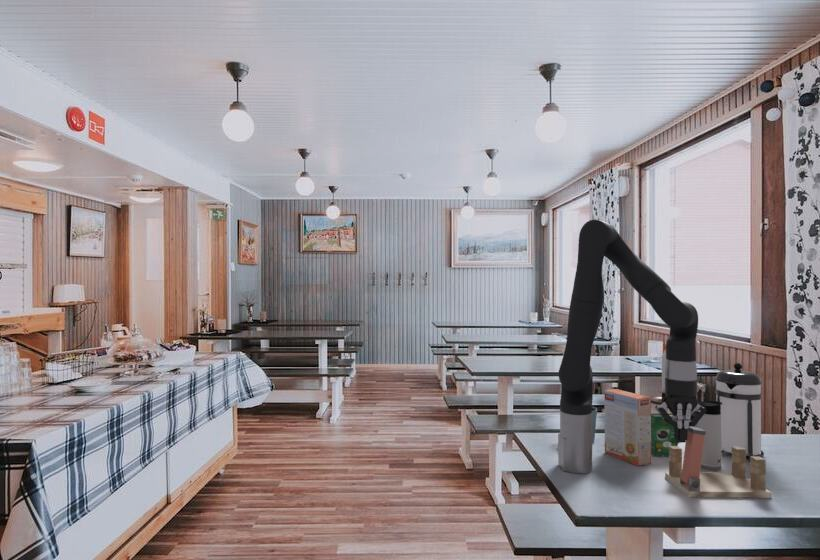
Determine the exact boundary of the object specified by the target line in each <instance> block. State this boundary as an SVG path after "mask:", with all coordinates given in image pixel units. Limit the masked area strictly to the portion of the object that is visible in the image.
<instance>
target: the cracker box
mask: <svg viewBox="0 0 820 560" xmlns="http://www.w3.org/2000/svg"><path fill="white" fill-rule="evenodd" d="M651 414H652V403H651V396H646V395H643V394H642V395H641V394H638V393H634V392H629V391H627V390H622V389H618V388H613V389H605V390H604V453H606V454H608V455H611V456H612V457H615V458H618V459H621V460H623V461H625V462H627V463H630V464H633V465H634V466H637V467H640V466H646V465H651V464H652V455H651Z"/></svg>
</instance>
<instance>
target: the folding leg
mask: <svg viewBox="0 0 820 560" xmlns="http://www.w3.org/2000/svg"><path fill="white" fill-rule="evenodd" d="M705 434H706V431H704V430H702V429H700V428H697V426H696V427H695V426H694V427H693V426H691V427H689V428H688V439H687V440H686V442H685V444H684V445H685V446H684V453H683V459H682V476H681V480H682V481H684V482H685V483H686V484H689V478H699V477H700V473H701V469H702V468H701V461H702V453H703V445H704V437H705Z"/></svg>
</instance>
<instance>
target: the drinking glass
mask: <svg viewBox="0 0 820 560" xmlns="http://www.w3.org/2000/svg"><path fill="white" fill-rule="evenodd" d="M597 415H598V408H597V407H595V406H593V405H592V443H593V444H595V441H596V440H595V439H596V438H595V437H596V426H597V422H596V421H597Z"/></svg>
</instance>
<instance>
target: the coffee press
mask: <svg viewBox="0 0 820 560" xmlns="http://www.w3.org/2000/svg"><path fill="white" fill-rule="evenodd" d="M733 367H734V369H723V370H721V371H719V372H718V373H716V376H714V380H715V382H716V383H715V385H716V386H715V394H716V401H720V402H721V403H722V405H721V454H723V453H725V452H726V453H728V454H731V455H732V447H742V448H744V449H746V461H748V463H750V456H758V457H763V456H764V454H765V452H764V451H763V450H762V405H761V404H762V403H761V402H762V397H763V396H762V391H761V389H762V388H761V387H762V384H763V381H762V379H761V378H760V376H759V375H758V374H757V373H755V372H752V371H748V370H744V369H743V370H741V369H742V368H743V365H742V364H741V363H739V362H736V363H734V364H733Z"/></svg>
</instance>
